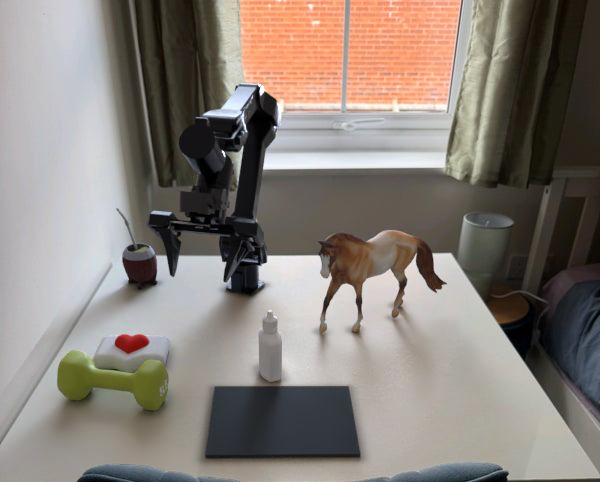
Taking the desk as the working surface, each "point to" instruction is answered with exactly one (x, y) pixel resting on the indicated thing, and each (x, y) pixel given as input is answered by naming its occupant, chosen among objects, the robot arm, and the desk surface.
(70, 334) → the desk surface
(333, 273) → the horse figurine
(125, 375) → the dumbbell
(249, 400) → the mat
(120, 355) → the icon
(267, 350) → the eye dropper bottle
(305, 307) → the desk surface
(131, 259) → the mate gourd
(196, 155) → the robot arm
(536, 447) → the desk surface
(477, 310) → the desk surface
